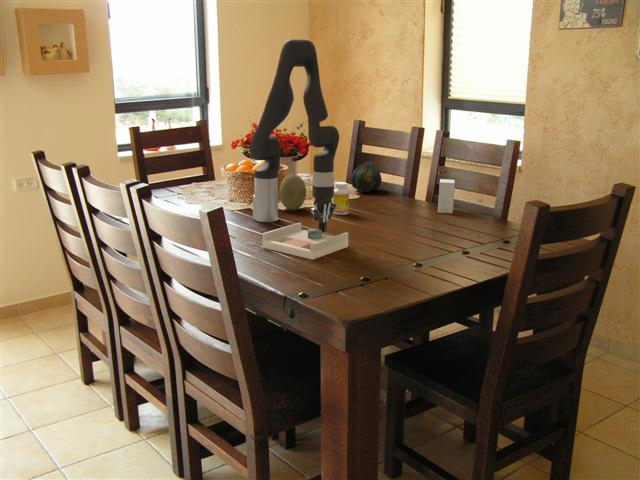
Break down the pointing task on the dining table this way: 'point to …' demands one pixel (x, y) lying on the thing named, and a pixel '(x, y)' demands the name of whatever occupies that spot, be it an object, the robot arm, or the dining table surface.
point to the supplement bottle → (341, 199)
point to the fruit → (292, 192)
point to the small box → (446, 196)
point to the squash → (366, 177)
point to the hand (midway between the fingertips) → (322, 231)
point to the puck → (314, 233)
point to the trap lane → (302, 242)
